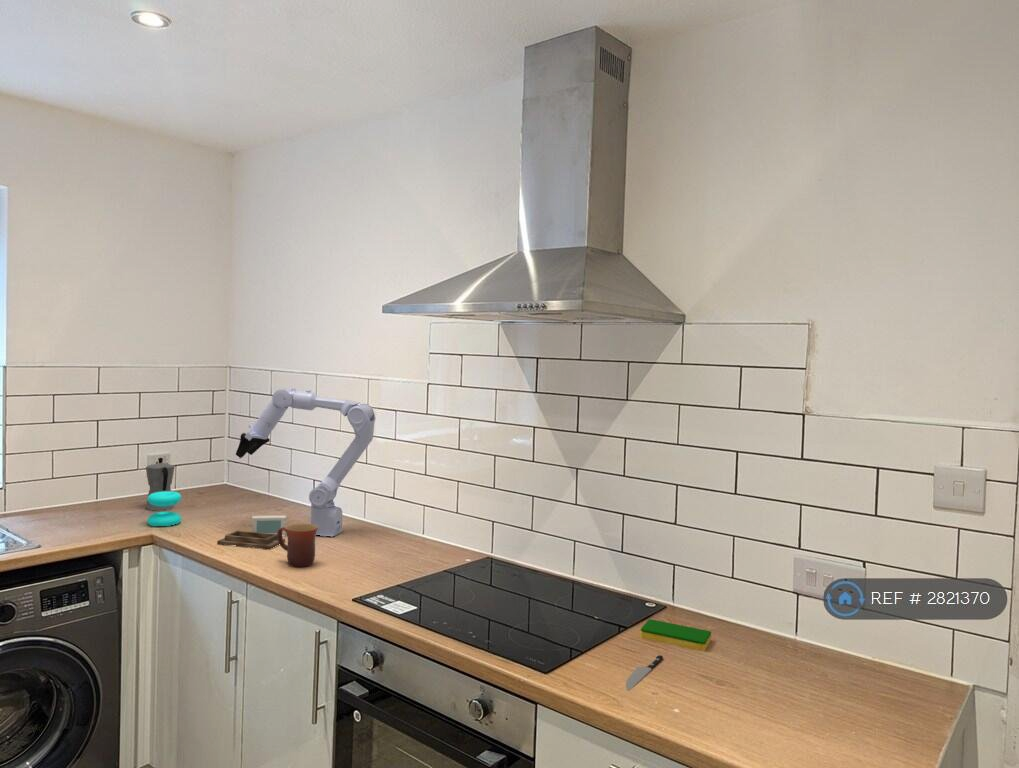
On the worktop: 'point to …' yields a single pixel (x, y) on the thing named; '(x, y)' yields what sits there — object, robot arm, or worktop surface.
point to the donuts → (166, 516)
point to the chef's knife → (641, 673)
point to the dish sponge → (676, 634)
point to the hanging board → (250, 539)
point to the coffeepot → (159, 481)
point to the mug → (299, 543)
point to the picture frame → (268, 524)
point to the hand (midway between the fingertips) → (243, 454)
